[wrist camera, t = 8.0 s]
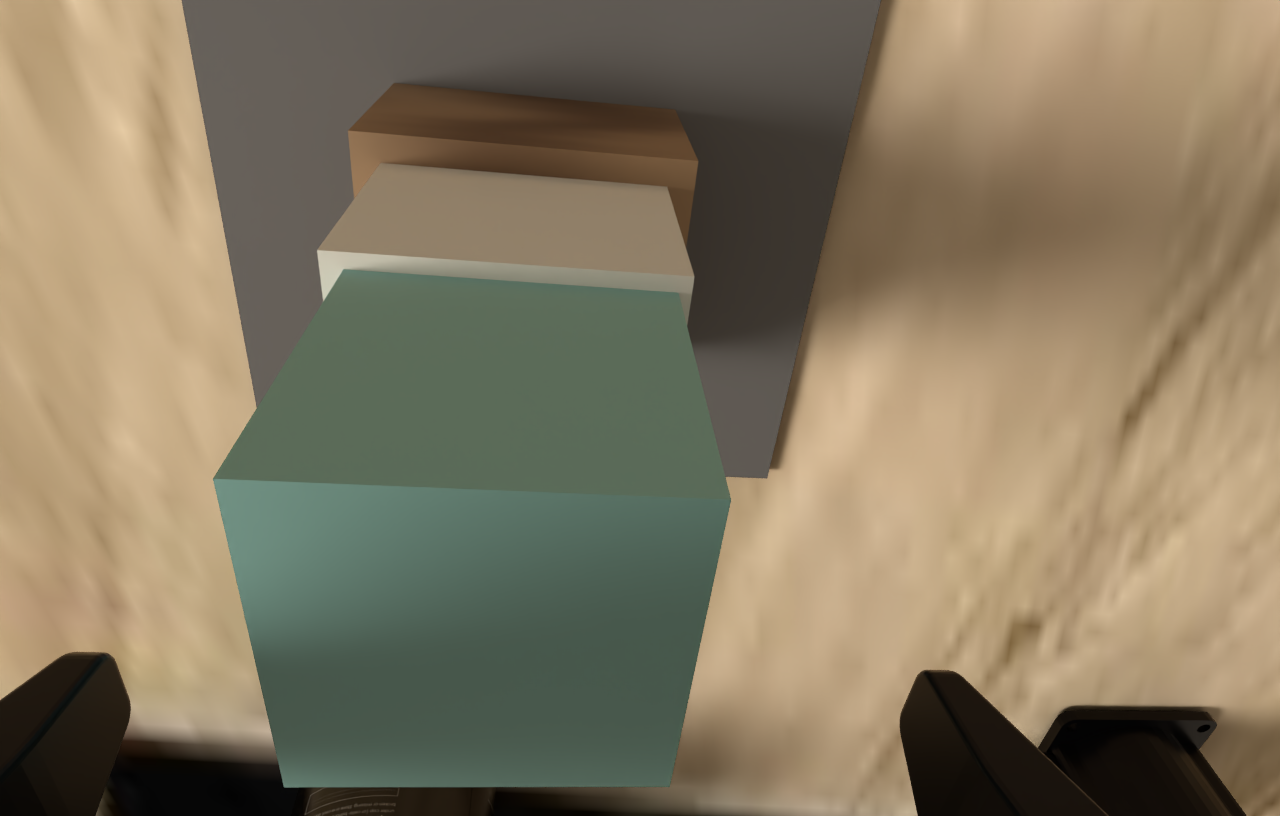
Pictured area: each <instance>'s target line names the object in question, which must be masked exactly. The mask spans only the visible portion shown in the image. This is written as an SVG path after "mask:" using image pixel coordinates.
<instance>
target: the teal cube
mask: <svg viewBox="0 0 1280 816" xmlns="http://www.w3.org/2000/svg"><path fill="white" fill-rule="evenodd" d="M213 481H214V485H215V489H216V494H217V498H218V503H219V507H220V511H221V516H222V520H223V524H224V529H225V533H226V537H227V542H228V546H229V550H230V555H231V559H232V563H233V568H234V572H235V576H236V581H237V585H238V589H239V594H240V598H241V602H242V607H243V611H244V615H245V620H246V624H247V628H248V633H249V637H250V641H251V646H252V650H253V654H254V659H255V663H256V667H257V672H258V676H259V680H260V685H261V689H262V693H263V698H264V702H265V706H266V711H267V715H268V719H269V724H270V728H271V732H272V737H273V741H274V745H275V750H276V754H277V758H278V763H279V767H280V771H281V776H282V780H283V784H284V787H670V783H671V778H672V774H673V769H674V764H675V759H676V755H677V750H678V745H679V741H680V736H681V731H682V727H683V722H684V717H685V713H686V708H687V703H688V699H689V694H690V689H691V685H692V680H693V675H694V671H695V666H696V661H697V657H698V652H699V647H700V643H701V638H702V633H703V629H704V624H705V619H706V615H707V610H708V605H709V601H710V596H711V591H712V587H713V582H714V577H715V572H716V568H717V563H718V558H719V554H720V549H721V544H722V540H723V535H724V530H725V526H726V521H727V516H728V512H729V507H730V502H731V498H730V494H729V490H728V486H727V482H726V478H725V474H724V470H723V466H722V462H721V458H720V454H719V450H718V446H717V442H716V438H715V434H714V430H713V427H712V423H711V419H710V415H709V411H708V407H707V403H706V399H705V395H704V391H703V387H702V383H701V379H700V375H699V371H698V367H697V363H696V359H695V355H694V352H693V348H692V344H691V340H690V336H689V332H688V328H687V324H686V320H685V316H684V312H683V308H682V304H681V300H680V296H679V293H677V292H662V291H648V290H634V289H619V288H605V287H591V286H576V285H562V284H548V283H533V282H519V281H505V280H490V279H476V278H461V277H447V276H433V275H418V274H404V273H390V272H375V271H361V270H347V269H343V271H342V272H341V274H340V276H339V277H338V279H337V280H336V282H335V284H334V285H333V287H332V288H331V290H330V292H329V293H328V295H327V296H326V298H325V300H324V301H323V303H322V304H321V306H320V308H319V309H318V311H317V313H316V314H315V316H314V317H313V319H312V321H311V322H310V324H309V325H308V327H307V329H306V330H305V332H304V333H303V335H302V337H301V338H300V340H299V341H298V343H297V345H296V346H295V348H294V349H293V351H292V353H291V354H290V356H289V358H288V359H287V361H286V362H285V364H284V366H283V367H282V369H281V370H280V372H279V374H278V375H277V377H276V378H275V380H274V382H273V383H272V385H271V386H270V388H269V390H268V391H267V393H266V394H265V396H264V398H263V399H262V401H261V403H260V404H259V406H258V407H257V409H256V411H255V412H254V414H253V415H252V417H251V419H250V420H249V422H248V423H247V425H246V427H245V428H244V430H243V431H242V433H241V435H240V436H239V438H238V439H237V441H236V443H235V444H234V446H233V448H232V449H231V451H230V452H229V454H228V456H227V457H226V459H225V460H224V462H223V464H222V465H221V467H220V468H219V470H218V472H217V473H216V475H215V476H214V478H213Z"/></svg>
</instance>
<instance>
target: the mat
mask: <svg viewBox="0 0 1280 816" xmlns="http://www.w3.org/2000/svg"><path fill="white" fill-rule="evenodd" d="M880 2H881V0H182V5H183V10H184V16H185V21H186V26H187V32H188V37H189V43H190V48H191V54H192V59H193V64H194V70H195V75H196V81H197V86H198V92H199V97H200V102H201V108H202V113H203V119H204V124H205V129H206V135H207V140H208V146H209V151H210V157H211V162H212V167H213V173H214V178H215V184H216V189H217V194H218V200H219V205H220V211H221V216H222V222H223V227H224V232H225V238H226V243H227V249H228V254H229V260H230V265H231V270H232V276H233V281H234V287H235V292H236V297H237V303H238V308H239V314H240V319H241V325H242V330H243V335H244V341H245V346H246V352H247V357H248V362H249V368H250V373H251V379H252V384H253V390H254V395H255V400H256V406H257V407H258V406H259V404H260V403H261V401H262V399H263V398H264V396H265V394H266V393H267V391H268V390H269V388H270V386H271V385H272V383H273V382H274V380H275V378H276V377H277V375H278V374H279V372H280V370H281V369H282V367H283V366H284V364H285V362H286V361H287V359H288V358H289V356H290V354H291V353H292V351H293V349H294V348H295V346H296V345H297V343H298V341H299V340H300V338H301V337H302V335H303V333H304V332H305V330H306V329H307V327H308V325H309V324H310V322H311V321H312V319H313V317H314V316H315V314H316V313H317V311H318V309H319V308H320V306H321V304H322V303H323V296H322V287H321V279H320V271H319V263H318V254H317V249H318V248H319V247H320V245H321V244H322V242H323V241H324V240H325V238H326V237H327V236H328V234H329V233H330V232H331V230H332V229H333V227H334V226H335V225H336V223H337V222H338V221H339V219H340V218H341V216H342V215H343V214H344V212H345V211H346V210H347V208H348V207H349V205H350V204H351V203H352V201H353V200H354V192H353V181H352V170H351V159H350V148H349V137H348V130H349V129H350V128H351V127H352V126H353V125H354V124H355V123H356V122H357V121H358V120H359V119H360V118H361V117H362V115H363V114H364V113H365V112H366V111H367V110H368V109H369V108H370V107H371V106H372V105H373V104H374V103H375V102H376V101H377V100H378V99H379V98H380V97H381V96H382V95H383V94H384V93H385V92H386V91H387V90H388V89H389V88H390V87H391V85H392V84H393V83H398V84H409V85H419V86H430V87H441V88H451V89H462V90H473V91H483V92H494V93H505V94H515V95H526V96H536V97H547V98H558V99H568V100H579V101H590V102H600V103H611V104H622V105H632V106H643V107H654V108H664V109H675V110H676V113H677V115H678V117H679V119H680V121H681V124H682V126H683V128H684V130H685V132H686V135H687V137H688V139H689V141H690V144H691V146H692V148H693V150H694V152H695V155H696V157H697V159H698V168H697V175H696V182H695V189H694V196H693V203H692V210H691V217H690V224H689V231H688V238H687V245H686V250H687V254H688V257H689V260H690V263H691V267H692V270H693V273H694V276H695V277H694V284H693V290H692V297H691V304H690V310H689V317H688V324H687V328H688V332H689V336H690V340H691V344H692V348H693V352H694V355H695V359H696V363H697V367H698V371H699V375H700V379H701V383H702V387H703V391H704V395H705V399H706V403H707V407H708V411H709V415H710V419H711V423H712V427H713V430H714V434H715V438H716V442H717V446H718V450H719V454H720V458H721V462H722V466H723V470H724V474H725V477H748V478H767V476H768V472H769V468H770V464H771V460H772V455H773V451H774V447H775V443H776V439H777V434H778V430H779V426H780V422H781V418H782V413H783V409H784V405H785V401H786V397H787V392H788V388H789V384H790V380H791V376H792V372H793V367H794V363H795V359H796V355H797V351H798V346H799V342H800V338H801V334H802V330H803V325H804V321H805V317H806V313H807V309H808V304H809V300H810V296H811V292H812V288H813V283H814V279H815V275H816V271H817V267H818V262H819V258H820V254H821V250H822V246H823V241H824V237H825V233H826V229H827V225H828V220H829V216H830V212H831V208H832V204H833V200H834V195H835V191H836V187H837V183H838V179H839V174H840V170H841V166H842V162H843V158H844V153H845V149H846V145H847V141H848V137H849V132H850V128H851V124H852V120H853V116H854V111H855V107H856V103H857V99H858V95H859V90H860V86H861V82H862V78H863V74H864V69H865V65H866V61H867V57H868V53H869V48H870V44H871V40H872V36H873V32H874V27H875V23H876V19H877V15H878V11H879V7H880Z"/></svg>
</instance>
